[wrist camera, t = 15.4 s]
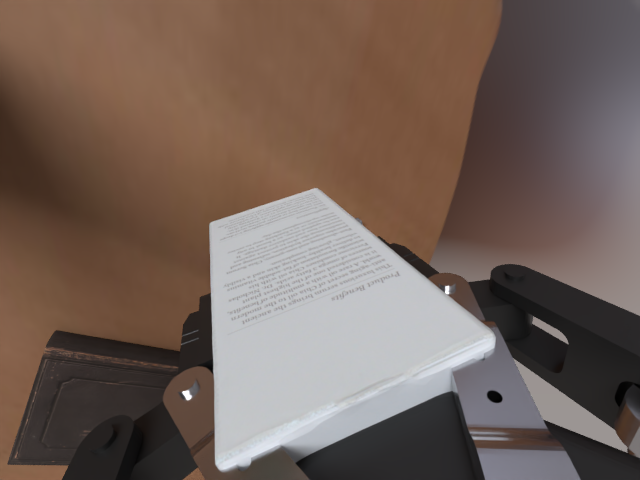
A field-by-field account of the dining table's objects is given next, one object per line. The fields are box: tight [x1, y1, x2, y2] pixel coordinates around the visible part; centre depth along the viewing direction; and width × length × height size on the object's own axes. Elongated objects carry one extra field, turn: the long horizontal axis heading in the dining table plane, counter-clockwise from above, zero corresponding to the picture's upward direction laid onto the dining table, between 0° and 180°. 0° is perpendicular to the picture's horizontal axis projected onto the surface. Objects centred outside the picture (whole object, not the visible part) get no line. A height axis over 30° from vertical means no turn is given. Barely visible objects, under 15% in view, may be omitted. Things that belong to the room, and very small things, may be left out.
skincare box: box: [209, 188, 496, 471], centre depth 12 cm, size 6×4×12 cm
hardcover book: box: [8, 331, 180, 465], centre depth 35 cm, size 16×23×2 cm
